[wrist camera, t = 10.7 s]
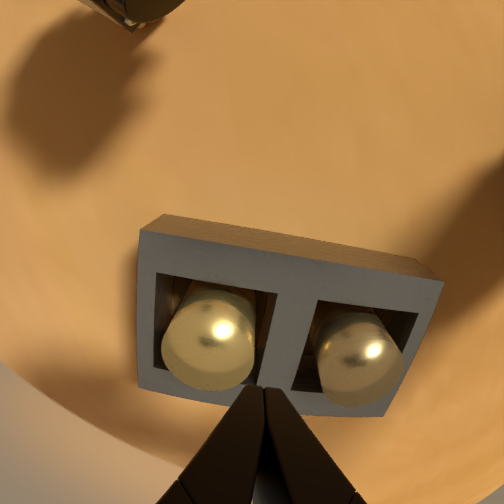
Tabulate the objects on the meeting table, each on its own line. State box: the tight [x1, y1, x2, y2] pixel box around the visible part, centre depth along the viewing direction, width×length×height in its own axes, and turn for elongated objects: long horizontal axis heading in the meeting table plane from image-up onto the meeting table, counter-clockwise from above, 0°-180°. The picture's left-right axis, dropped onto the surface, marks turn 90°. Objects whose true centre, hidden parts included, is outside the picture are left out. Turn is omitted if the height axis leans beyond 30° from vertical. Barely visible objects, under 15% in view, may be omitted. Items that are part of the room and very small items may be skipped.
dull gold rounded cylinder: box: [309, 300, 404, 407], centre depth 17 cm, size 4×4×6 cm
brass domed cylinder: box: [161, 279, 256, 391], centre depth 17 cm, size 4×4×6 cm
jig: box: [136, 214, 444, 417], centre depth 18 cm, size 16×10×4 cm, turn 80°
